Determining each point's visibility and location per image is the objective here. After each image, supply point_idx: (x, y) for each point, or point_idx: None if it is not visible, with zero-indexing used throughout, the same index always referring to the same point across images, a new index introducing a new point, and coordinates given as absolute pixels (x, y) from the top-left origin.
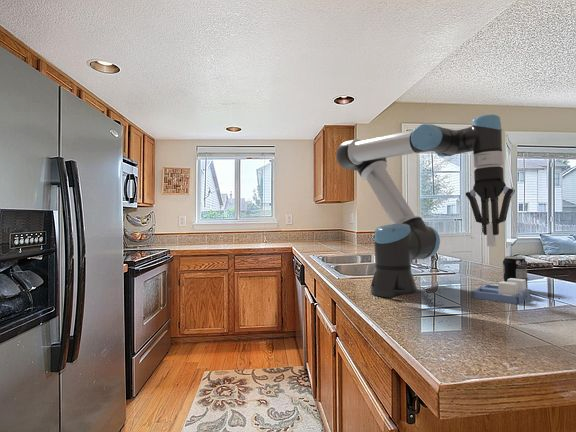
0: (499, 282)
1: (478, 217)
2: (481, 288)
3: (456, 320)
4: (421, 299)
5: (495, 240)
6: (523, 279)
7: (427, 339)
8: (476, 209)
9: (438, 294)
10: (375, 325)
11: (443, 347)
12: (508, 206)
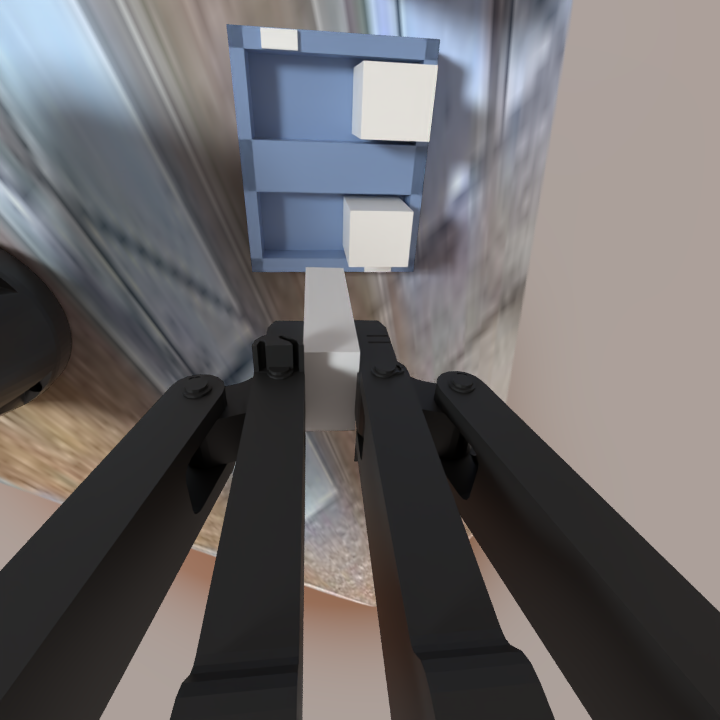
0: (350, 251)
1: (213, 492)
2: (257, 183)
3: (308, 454)
4: (114, 336)
5: (346, 284)
6: (428, 74)
7: (315, 549)
8: (161, 599)
9: (90, 211)
10: (213, 555)
11: (346, 556)
12: (610, 533)
